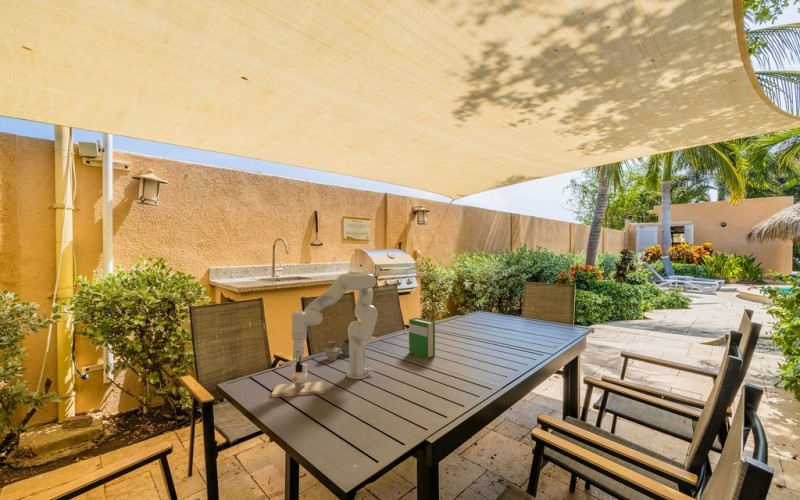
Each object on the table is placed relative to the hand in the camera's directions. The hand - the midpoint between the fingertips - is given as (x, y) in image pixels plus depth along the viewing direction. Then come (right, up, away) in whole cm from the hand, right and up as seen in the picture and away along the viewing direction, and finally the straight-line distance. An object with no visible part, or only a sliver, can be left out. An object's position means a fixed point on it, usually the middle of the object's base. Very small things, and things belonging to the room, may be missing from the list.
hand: (299, 370), depth 178 cm
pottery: (+12, -10, +54) cm, 57 cm away
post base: (0, -11, 0) cm, 11 cm away
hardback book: (+68, -10, +57) cm, 89 cm away
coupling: (0, -5, -1) cm, 5 cm away
